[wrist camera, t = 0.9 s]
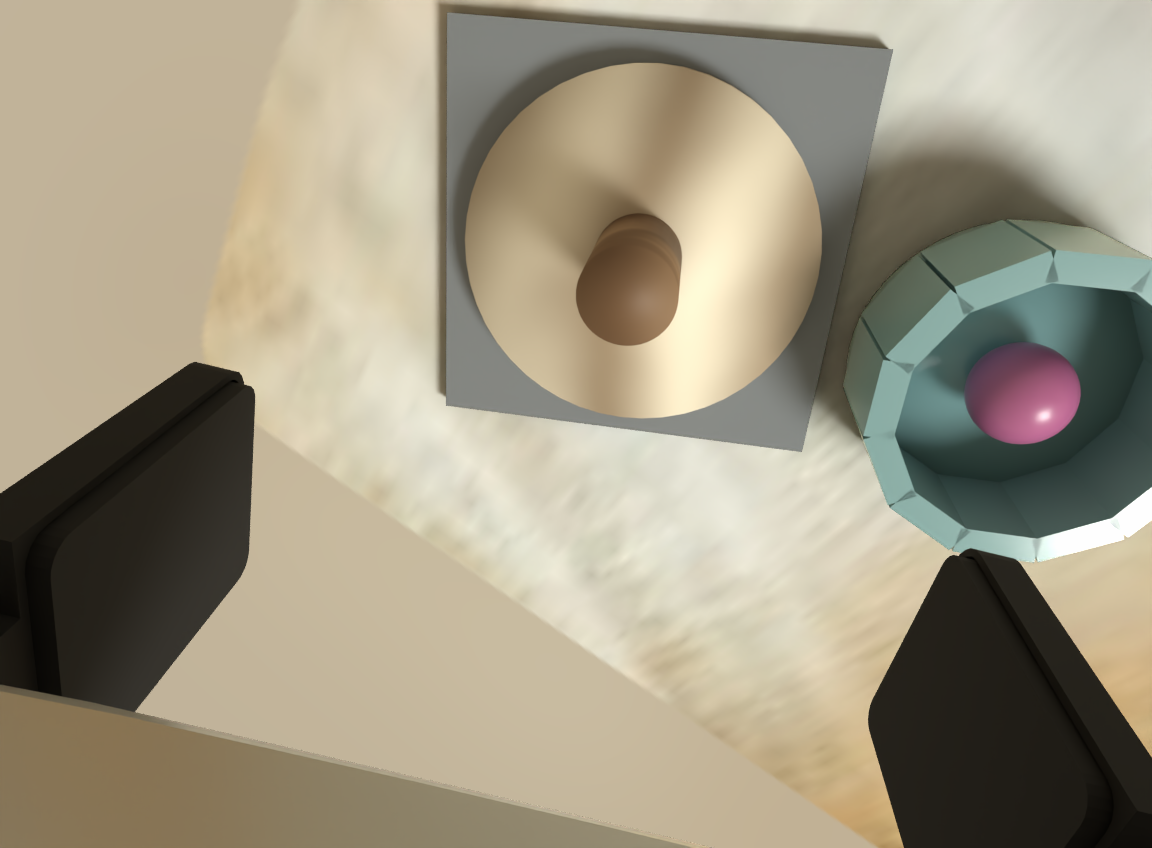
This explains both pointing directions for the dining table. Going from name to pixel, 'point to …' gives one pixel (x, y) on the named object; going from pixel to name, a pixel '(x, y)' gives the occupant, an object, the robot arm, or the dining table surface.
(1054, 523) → the bowl
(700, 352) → the lid
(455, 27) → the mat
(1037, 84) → the dining table surface
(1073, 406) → the plum
